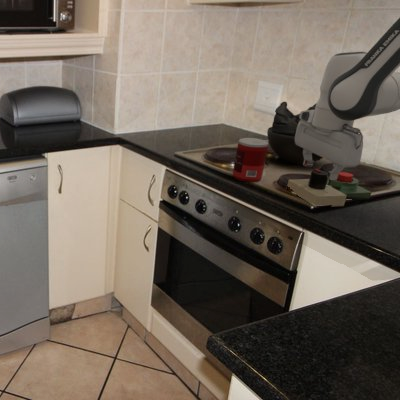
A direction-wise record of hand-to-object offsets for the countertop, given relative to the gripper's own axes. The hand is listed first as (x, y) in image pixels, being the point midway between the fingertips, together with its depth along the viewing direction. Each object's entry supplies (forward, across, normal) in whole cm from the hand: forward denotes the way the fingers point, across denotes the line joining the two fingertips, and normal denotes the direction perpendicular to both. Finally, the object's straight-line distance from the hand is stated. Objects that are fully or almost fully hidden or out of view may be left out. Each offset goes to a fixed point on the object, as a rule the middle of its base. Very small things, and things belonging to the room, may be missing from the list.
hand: (319, 172), depth 123 cm
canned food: (+7, +16, +10) cm, 20 cm away
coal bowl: (+7, +28, -14) cm, 32 cm away
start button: (+3, +2, -10) cm, 10 cm away
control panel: (+7, 0, 0) cm, 7 cm away
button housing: (+7, +2, -10) cm, 12 cm away
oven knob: (+4, 0, 0) cm, 4 cm away
